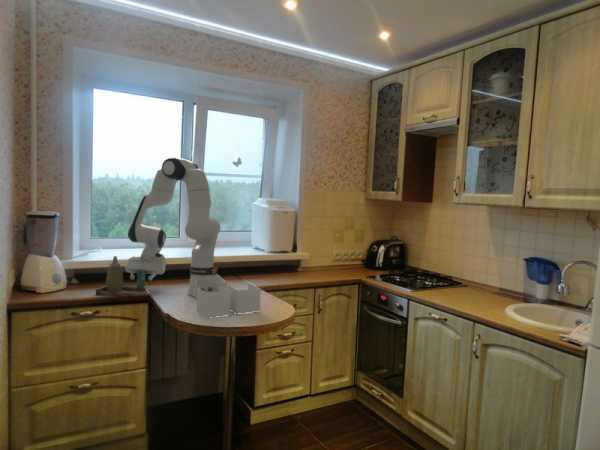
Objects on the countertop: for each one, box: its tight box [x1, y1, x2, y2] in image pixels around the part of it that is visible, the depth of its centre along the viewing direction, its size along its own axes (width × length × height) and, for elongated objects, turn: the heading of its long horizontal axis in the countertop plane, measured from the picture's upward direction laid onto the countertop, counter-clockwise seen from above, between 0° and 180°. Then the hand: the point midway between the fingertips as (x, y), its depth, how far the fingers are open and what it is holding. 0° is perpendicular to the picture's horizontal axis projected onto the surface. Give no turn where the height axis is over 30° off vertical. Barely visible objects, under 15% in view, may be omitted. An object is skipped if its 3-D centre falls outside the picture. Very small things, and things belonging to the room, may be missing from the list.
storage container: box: [195, 283, 262, 319], centre depth 173 cm, size 25×11×11 cm, turn 122°
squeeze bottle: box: [105, 255, 124, 292], centre depth 199 cm, size 8×8×18 cm
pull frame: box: [95, 269, 147, 298], centre depth 199 cm, size 18×15×10 cm
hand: (140, 279), depth 204 cm, fingers open, 8 cm apart
